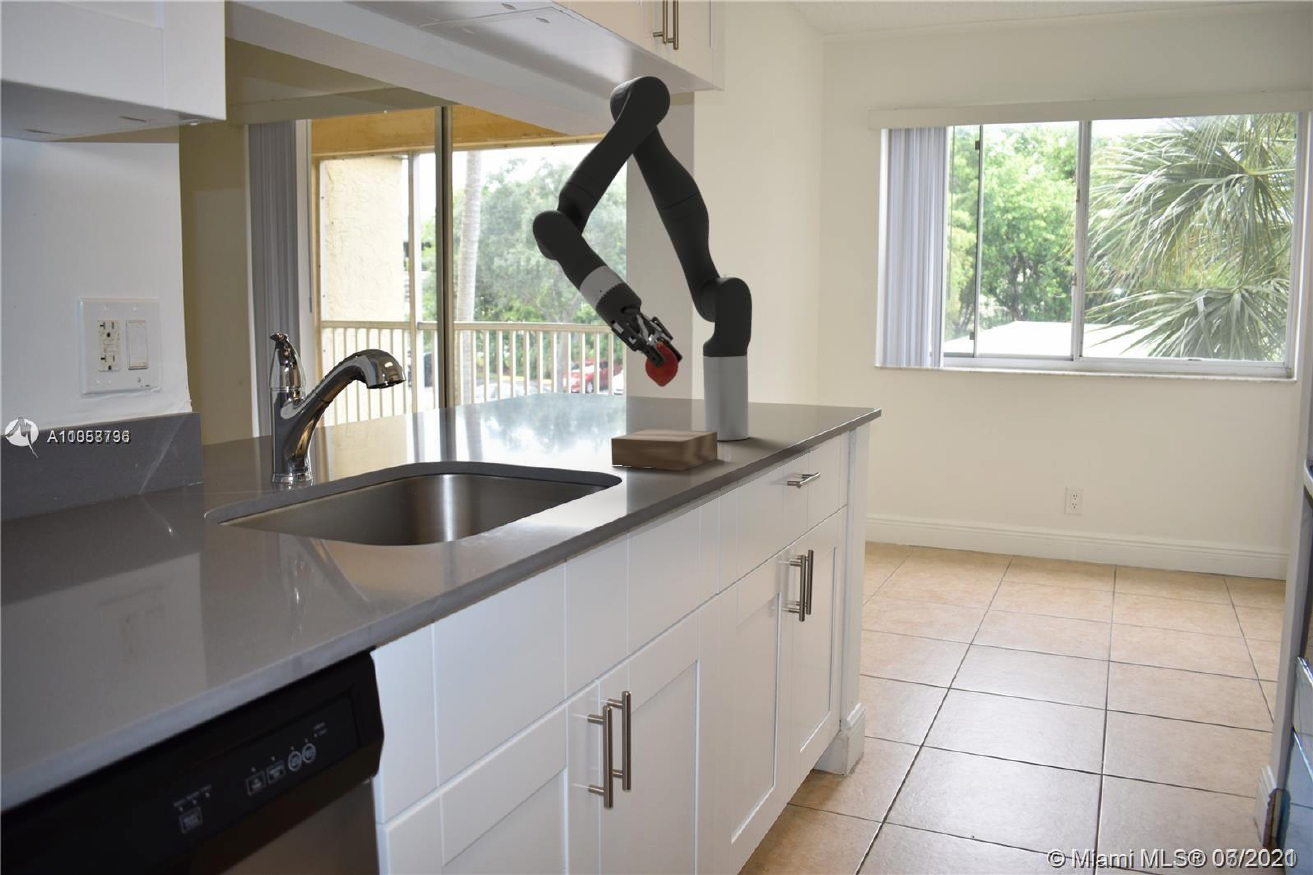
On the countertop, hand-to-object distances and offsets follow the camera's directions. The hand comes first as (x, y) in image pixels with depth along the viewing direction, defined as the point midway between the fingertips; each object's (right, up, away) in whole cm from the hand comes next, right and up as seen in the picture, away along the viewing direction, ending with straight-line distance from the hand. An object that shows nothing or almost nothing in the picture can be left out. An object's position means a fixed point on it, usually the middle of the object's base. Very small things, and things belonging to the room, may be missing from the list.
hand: (670, 362), depth 176 cm
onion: (-1, -4, +1) cm, 5 cm away
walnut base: (-1, -18, +3) cm, 18 cm away
